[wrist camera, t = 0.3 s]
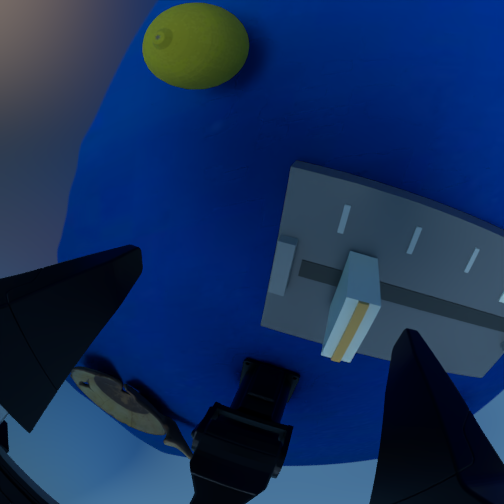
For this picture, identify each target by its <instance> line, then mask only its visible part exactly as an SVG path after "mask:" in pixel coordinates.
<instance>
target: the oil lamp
mask: <svg viewBox="0 0 504 504" xmlns="http://www.w3.org/2000/svg"><path fill="white" fill-rule="evenodd" d="M71 373H72V374H71V375H70V376H71V378H72V379H73V380H74V381H75V383H76V385H77V386H78V387H79V389H80V390H82V391H83V392H84V394H86V395H87V396H88V397H89V398H90V399H91V400H92V401H93V402H94V403H95V404H97V405H98V406H99V407H100V408H101V409H103V410H104V411H105V412H107V413H108V414H110V415H112V416H113V417H114V418H115V419H117V420H119V421H120V422H122V423H125V424H127V425H128V426H130V427H132V428H135V429H137V430H140V431H143V432H146V433H150V434H154V435H164V434H166V438H165V439H164V441H163V442H164V444H165V445H168V446H173V447H176V448H178V449H179V450H180V451H182V452H183V453H184V454H185V455H186V456H187V457H188V458H189V459H191V458H192V456H193V454H192V452H191V450H190V448H189V446H188V445H187V443H186V441H185V440H184V438H183V436H182V434H181V432H180V430H179V428H178V426H177V424H176V423H175V421H174V420H172V419H171V418H169V417H167V416H164V415H162V414H161V413H160V412H159V411H158V410H157V409H156V408H155V407H154V406H153V405H152V404H151V403H150V402H149V401H148V400H147V399H146V398H144V397H143V396H142V395H141V394H140V393H138V392H137V391H136V390H135V389H133V388H132V387H130V386H129V385H127V384H124V387H125V389H126V391H127V392H128V393H130V394H128V393H126V392H124V391H122V387H123V384H122V382H121V381H120V380H119V379H117V378H115V377H113V376H111V375H108V374H106V373H103V372H101V371H98V370H94V369H90V368H87V367H74V368H73V369H72V371H71ZM83 382H88V383H89V384H85V383H83Z"/></svg>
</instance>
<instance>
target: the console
mask: <svg viewBox="0 0 504 504" xmlns="http://www.w3.org/2000/svg"><path fill="white" fill-rule="evenodd" d="M350 251H353V252H356V253H360V254H363V255H367V256H370V257H373V258H377V259H378V268H379V280H380V296H381V308H380V310H379V312H378V313H377V315H376V317H375V319H374V321H373V323H372V325H371V327H370V329H369V330H368V332H367V334H366V336H365V338H364V339H363V341H362V343H361V345H360V346H359V348H358V350H357V352H356V353H360V354H364V355H368V356H372V357H377V358H381V359H385V360H389V361H391V353H392V349H393V347H394V345H395V343H396V341H397V340H398V338H399V337H400V335H401V333H402V332H403V330H404V329H406V328H410V329H414V330H417V331H418V332H419V333H420V335H421V336H422V338H423V339H424V340H425V342H426V343H427V345H428V346H429V348H430V349H431V350H432V352H433V353H434V355H435V356H436V358H437V359H438V361H439V362H440V364H441V365H442V367H443V368H444V370H445V371H446V372H449V373H454V374H460V375H466V376H472V377H479V378H482V377H483V376H484V375H485V374H486V373H487V372H488V370H489V369H490V368H491V367H492V366H493V365H494V364H495V363H496V361H497V360H498V359H499V358H500V357H501V355H502V354H503V353H504V230H503V229H501V228H499V227H496V226H494V225H492V224H490V223H488V222H485V221H483V220H481V219H478V218H476V217H474V216H471V215H469V214H467V213H464V212H462V211H459V210H457V209H454V208H452V207H449V206H446V205H444V204H441V203H439V202H436V201H433V200H430V199H428V198H425V197H422V196H419V195H416V194H414V193H411V192H408V191H405V190H402V189H399V188H396V187H393V186H389V185H386V184H383V183H380V182H377V181H373V180H370V179H367V178H363V177H360V176H356V175H353V174H349V173H346V172H342V171H338V170H334V169H330V168H327V167H323V166H319V165H315V164H310V163H306V162H302V161H298V160H296V161H295V163H294V164H293V165H292V166H291V169H290V174H289V180H288V186H287V191H286V197H285V202H284V208H283V213H282V219H281V224H280V229H279V235H278V240H277V245H276V251H275V256H274V261H273V266H272V271H271V276H270V281H269V286H268V291H267V296H266V301H265V306H264V311H263V316H262V321H261V326H264V327H267V328H271V329H274V330H277V331H280V332H284V333H287V334H290V335H294V336H297V337H301V338H304V339H308V340H311V341H315V342H318V343H322V344H323V342H324V337H325V332H326V326H327V321H328V315H329V310H330V305H331V302H332V300H333V297H334V295H335V292H336V289H337V287H338V284H339V281H340V278H341V276H342V273H343V270H344V267H345V264H346V262H347V259H348V256H349V253H350Z"/></svg>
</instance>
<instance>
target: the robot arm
mask: <svg viewBox="0 0 504 504" xmlns="http://www.w3.org/2000/svg"><path fill="white" fill-rule="evenodd" d="M142 269H143V265H142V254H141V249H140V248H139V247H136V246H134V245H126V246H122V247H118V248H114V249H110V250H106V251H103V252H99V253H95V254H91V255H87V256H84V257H80V258H76V259H72V260H69V261H65V262H62V263H58V264H55V265H51V266H47V267H44V268H40V269H37V270H34V271H30V272H26V273H22V274H18V275H14V276H10V277H6V278H1V279H0V504H59V503H58V502H57V501H55V500H54V499H53V498H52V497H51V496H49V495H48V494H47V493H46V492H45V491H44V490H42V489H41V488H40V487H39V486H38V485H37V484H36V483H35V482H34V481H33V480H32V479H31V478H30V477H29V476H28V475H27V474H26V473H25V472H24V471H23V470H22V469H21V468H20V467H19V466H18V465H17V464H16V463H15V462H14V461H13V460H12V459H11V458H10V457H9V455H8V454H7V453H8V451H9V446H8V428H7V423H6V421H5V420H4V419H5V418H6V417H7V415H8V414H10V415H11V416H12V417H13V418H14V419H15V420H16V421H17V422H18V423H19V424H20V425H21V426H22V427H23V428H24V429H25V430H26V431H27V432H29V433H30V432H31V431H32V430H33V428H34V426H35V425H36V423H37V422H38V420H39V419H40V417H41V416H42V414H43V412H44V411H45V409H46V408H47V406H48V405H49V403H50V402H51V400H52V399H53V397H54V396H55V394H56V393H57V390H58V389H59V388H60V387H61V385H62V384H63V382H64V381H65V379H66V378H67V376H68V375H69V374H70V372H71V371H72V369H73V368H74V366H75V365H76V364H77V362H78V361H79V359H80V358H81V357H82V355H83V354H84V353H85V351H86V350H87V349H88V347H89V346H90V344H91V343H92V342H93V340H94V339H95V338H96V336H97V335H98V334H99V332H100V331H101V330H102V329H103V327H104V326H105V325H106V323H107V322H108V321H109V319H110V318H111V317H112V316H113V314H114V313H115V312H116V310H117V309H118V308H119V306H120V305H121V304H122V302H123V301H124V299H125V298H126V296H127V294H128V293H129V291H130V290H131V288H132V287H133V285H134V284H135V282H136V281H137V279H138V278H139V276H140V275H141V273H142ZM299 378H300V375H299V374H297V373H294V372H291V371H287V370H284V369H280V368H277V367H274V366H271V365H268V364H264V363H261V362H258V361H255V360H252V359H249V358H246V359H245V360H244V362H243V367H242V373H241V379H240V384H239V389H238V391H237V393H236V395H235V397H234V400H233V402H232V404H231V406H230V407H227V406H224V405H221V403H218V402H215V404H214V405H213V407H210V408H209V410H208V411H207V413H206V415H205V417H204V418H203V420H202V421H201V422H200V423H199V424H198V425H197V427H196V428H195V429H194V430H193V431H192V433H191V436H192V438H193V443H192V450H193V451H195V452H194V454H193V456H192V458H191V460H190V471H191V475H192V480H193V486H194V491H195V494H194V496H193V498H192V500H191V502H190V504H246V503H247V502H248V501H250V500H251V499H253V498H254V497H255V496H257V495H258V494H260V493H261V492H262V491H264V490H265V489H266V487H267V485H268V483H269V480H270V478H271V477H272V478H277V476H278V474H279V472H280V470H281V468H282V466H283V463H284V460H285V457H286V454H287V450H288V446H289V442H290V438H291V434H292V430H293V426H290V425H288V426H287V425H284V424H280V421H281V418H282V415H283V412H284V409H285V406H286V403H287V402H289V400H290V397H291V395H292V393H293V391H294V389H295V387H296V385H297V383H298V381H299ZM369 504H504V464H503V462H502V461H501V459H500V458H499V456H498V454H497V453H496V451H495V450H494V448H493V447H492V445H491V444H490V442H489V440H488V439H487V437H486V436H485V434H484V433H483V431H482V430H481V428H480V426H479V425H478V423H477V421H476V419H475V418H474V416H473V414H472V413H471V411H469V408H468V406H467V404H466V403H465V401H464V399H463V398H462V396H461V395H460V393H459V391H458V390H457V388H456V387H455V385H454V383H453V382H452V380H451V379H450V377H449V376H448V374H447V373H446V371H445V370H444V368H443V367H442V365H441V364H440V362H439V361H438V359H437V358H436V356H435V355H434V353H433V352H432V350H431V349H430V348H429V346H428V345H427V343H426V342H425V340H424V339H423V338H422V336H421V335H420V333H419V332H418V331H417V330H414V329H410V328H406V329H404V330H403V332H402V333H401V335H400V337H399V338H398V340H397V341H396V343H395V345H394V347H393V349H392V353H391V361H390V368H389V374H388V380H387V386H386V392H385V403H384V414H383V425H382V433H381V442H380V449H379V456H378V462H377V468H376V474H375V480H374V485H373V490H372V494H371V499H370V503H369Z"/></svg>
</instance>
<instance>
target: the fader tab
mask: <svg viewBox="0 0 504 504" xmlns="http://www.w3.org/2000/svg"><path fill="white" fill-rule="evenodd" d="M380 308H381V296H380V280H379V268H378V259H377V258H373V257H370V256H367V255H363V254H360V253H356V252H353V251H350V253H349V256H348V259H347V262H346V264H345V267H344V270H343V273H342V276H341V278H340V281H339V284H338V287H337V289H336V292H335V295H334V297H333V300H332V302H331V305H330V310H329V315H328V321H327V326H326V332H325V337H324V342H323V347H322V352H321V355H322V356H326V357H330V358H331V360H332V361H336V362H340V361H345V362H349V363H350V362H351V360H352V358H353V357H354V355H355V353H356V352H357V350H358V348H359V346H360V345H361V343H362V341H363V339H364V338H365V336H366V334H367V332H368V330H369V329H370V327H371V325H372V323H373V321H374V319H375V317H376V315H377V313H378V312H379V310H380Z"/></svg>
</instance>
